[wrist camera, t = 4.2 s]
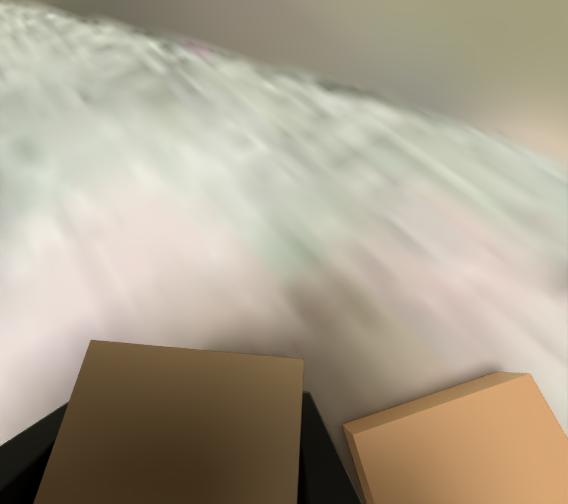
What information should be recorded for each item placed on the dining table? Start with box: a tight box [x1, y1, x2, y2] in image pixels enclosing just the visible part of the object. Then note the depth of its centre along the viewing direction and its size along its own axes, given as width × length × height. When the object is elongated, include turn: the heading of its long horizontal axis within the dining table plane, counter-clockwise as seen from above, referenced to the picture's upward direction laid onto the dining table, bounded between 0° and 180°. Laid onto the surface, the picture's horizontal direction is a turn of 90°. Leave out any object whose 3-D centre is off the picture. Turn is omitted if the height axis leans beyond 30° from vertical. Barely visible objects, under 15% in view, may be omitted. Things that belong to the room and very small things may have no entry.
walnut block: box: [33, 340, 304, 504], centre depth 9 cm, size 5×5×9 cm
